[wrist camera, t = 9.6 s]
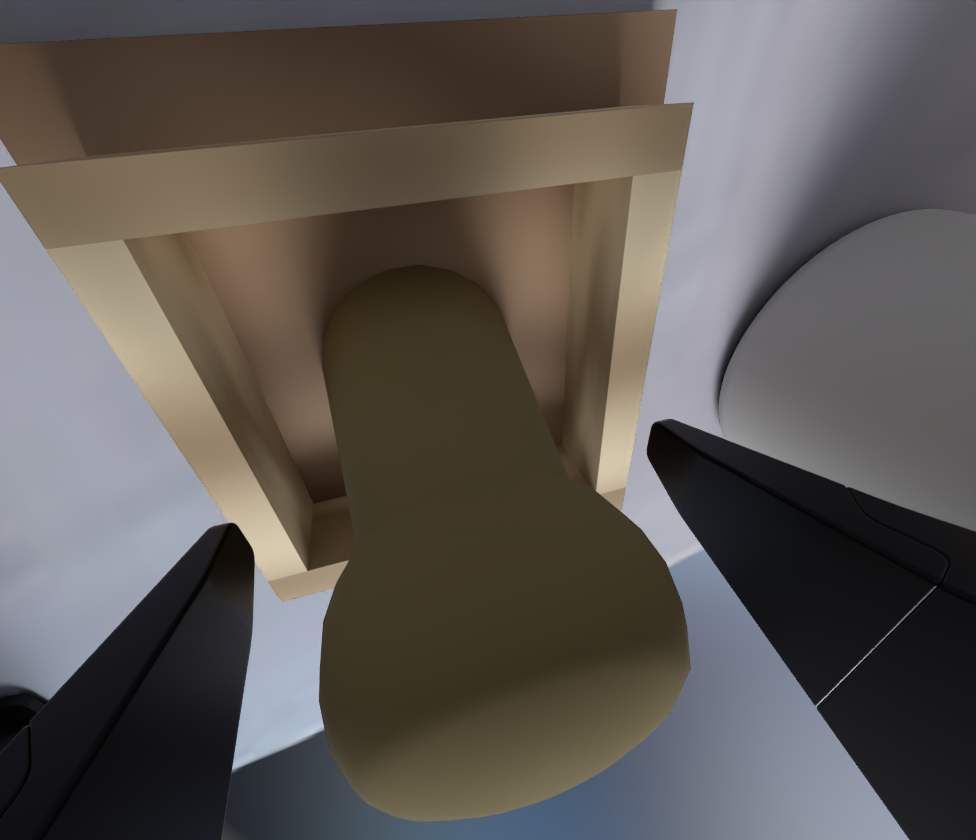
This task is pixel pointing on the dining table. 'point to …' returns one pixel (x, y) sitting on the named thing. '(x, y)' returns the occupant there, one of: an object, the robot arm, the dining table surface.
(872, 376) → the cylinder vase
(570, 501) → the cork
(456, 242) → the socket block
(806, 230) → the dining table surface
